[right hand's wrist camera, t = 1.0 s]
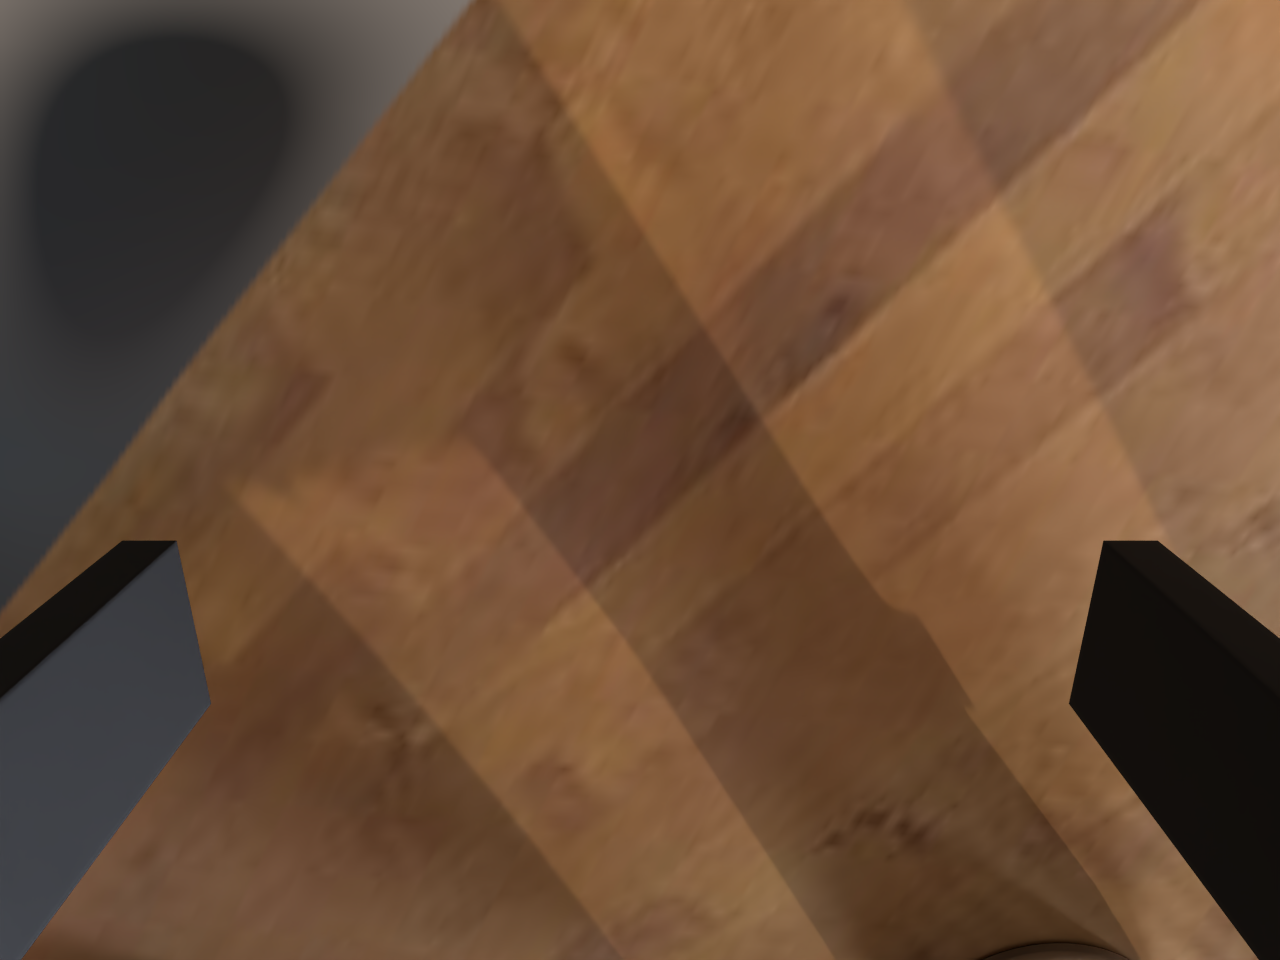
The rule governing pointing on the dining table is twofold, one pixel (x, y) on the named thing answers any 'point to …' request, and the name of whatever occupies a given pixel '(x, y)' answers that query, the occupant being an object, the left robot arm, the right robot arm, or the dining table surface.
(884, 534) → the dining table surface
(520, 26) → the dining table surface
